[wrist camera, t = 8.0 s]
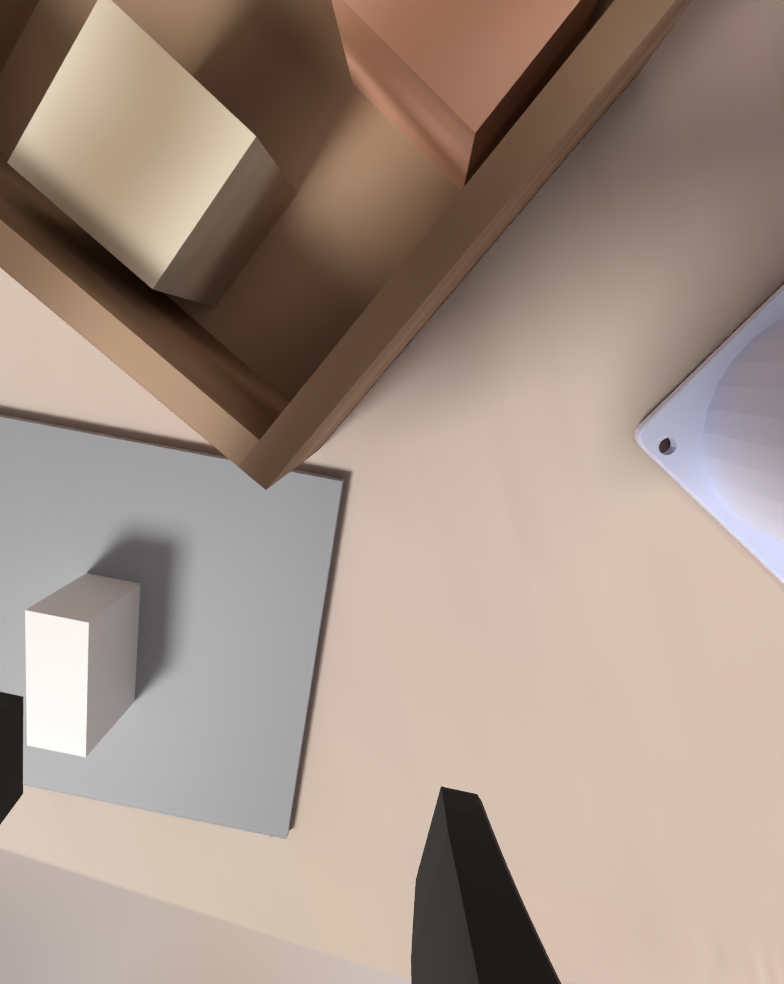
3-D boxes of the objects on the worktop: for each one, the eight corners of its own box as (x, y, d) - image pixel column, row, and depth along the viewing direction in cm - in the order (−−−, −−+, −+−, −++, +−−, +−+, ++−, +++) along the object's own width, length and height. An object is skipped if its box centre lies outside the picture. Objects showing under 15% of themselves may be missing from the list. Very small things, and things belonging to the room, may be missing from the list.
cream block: (297, 193, 14) (256, 136, 10) (215, 307, 15) (152, 289, 11) (183, 87, 13) (102, -9, 10) (105, 211, 14) (7, 162, 11)
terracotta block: (570, 59, 13) (622, -54, 9) (462, 191, 14) (475, 133, 10) (456, -63, 12) (467, -227, 9) (352, 83, 13) (327, -17, 10)
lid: (347, 475, 17) (325, 504, 14) (293, 817, 21) (265, 912, 17) (-73, 396, 18) (-205, 403, 14) (-51, 747, 21) (-150, 826, 18)
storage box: (642, 67, 13) (788, -135, 8) (317, 450, 16) (266, 490, 11) (234, -375, 12) (75, -995, 6) (-39, 142, 15) (-299, 16, 10)
